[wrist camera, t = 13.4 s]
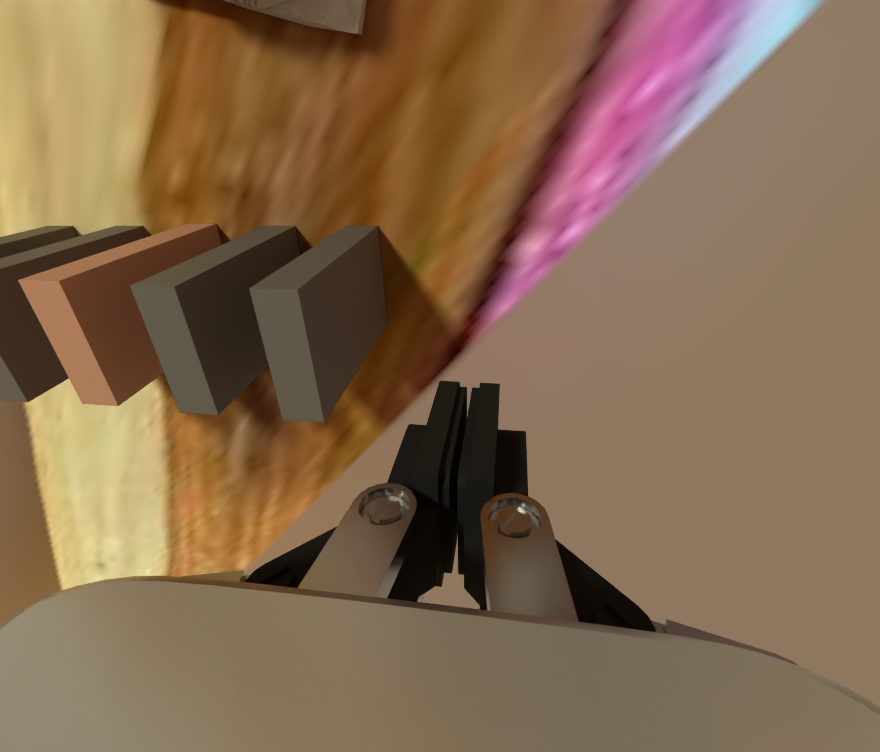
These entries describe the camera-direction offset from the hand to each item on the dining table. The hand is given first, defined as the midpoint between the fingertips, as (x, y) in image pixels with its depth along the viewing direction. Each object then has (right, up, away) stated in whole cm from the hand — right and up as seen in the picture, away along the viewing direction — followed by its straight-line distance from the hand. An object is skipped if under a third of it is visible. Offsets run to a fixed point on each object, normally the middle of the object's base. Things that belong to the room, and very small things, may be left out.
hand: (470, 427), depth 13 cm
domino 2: (-9, +7, +11) cm, 15 cm away
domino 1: (-5, +7, +10) cm, 13 cm away
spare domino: (-13, +7, +11) cm, 18 cm away
